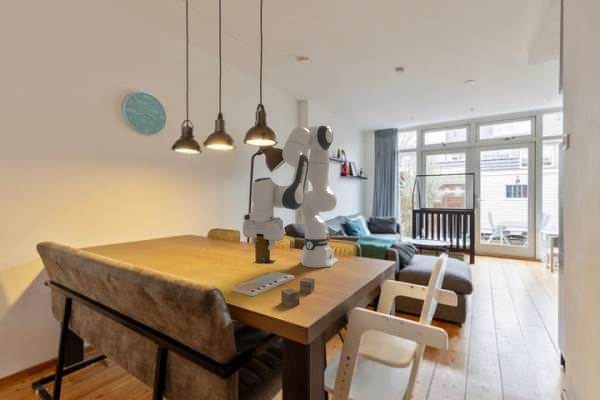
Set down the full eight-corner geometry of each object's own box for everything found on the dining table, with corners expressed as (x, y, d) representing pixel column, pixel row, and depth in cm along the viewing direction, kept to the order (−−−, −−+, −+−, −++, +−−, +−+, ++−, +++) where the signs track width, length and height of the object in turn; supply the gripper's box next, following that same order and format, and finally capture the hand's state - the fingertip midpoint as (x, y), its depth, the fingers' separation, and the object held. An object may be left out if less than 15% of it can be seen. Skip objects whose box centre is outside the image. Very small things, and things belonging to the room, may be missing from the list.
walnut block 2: (303, 288, 114) (303, 277, 114) (314, 289, 112) (314, 278, 112) (300, 292, 109) (300, 280, 109) (311, 293, 108) (311, 281, 108)
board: (275, 274, 133) (275, 271, 133) (294, 278, 127) (294, 275, 127) (232, 290, 111) (232, 287, 111) (252, 296, 105) (252, 292, 105)
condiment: (257, 259, 123) (257, 232, 123) (276, 260, 122) (276, 232, 121) (252, 263, 116) (251, 234, 116) (272, 264, 114) (272, 235, 114)
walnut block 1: (292, 300, 101) (292, 288, 101) (299, 304, 98) (299, 291, 98) (281, 303, 99) (281, 290, 99) (288, 307, 95) (288, 294, 95)
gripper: (287, 217, 116) (287, 251, 116) (250, 214, 127) (250, 245, 127) (277, 218, 110) (277, 253, 111) (240, 215, 122) (240, 247, 122)
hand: (263, 249), depth 119 cm, fingers closed on condiment, 6 cm apart
